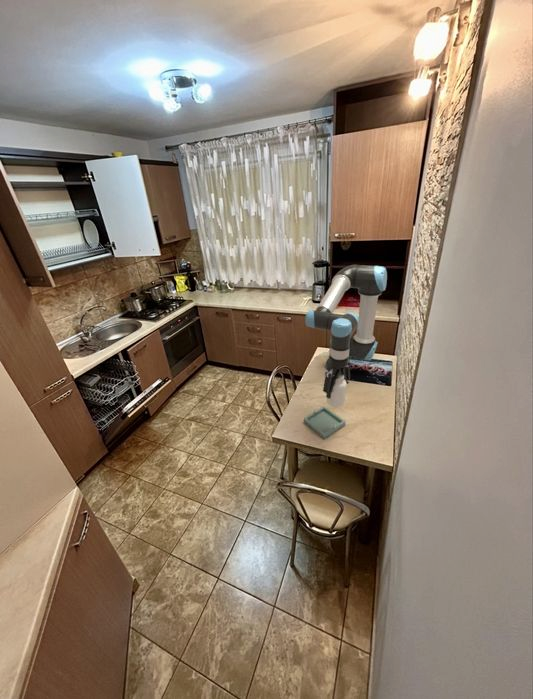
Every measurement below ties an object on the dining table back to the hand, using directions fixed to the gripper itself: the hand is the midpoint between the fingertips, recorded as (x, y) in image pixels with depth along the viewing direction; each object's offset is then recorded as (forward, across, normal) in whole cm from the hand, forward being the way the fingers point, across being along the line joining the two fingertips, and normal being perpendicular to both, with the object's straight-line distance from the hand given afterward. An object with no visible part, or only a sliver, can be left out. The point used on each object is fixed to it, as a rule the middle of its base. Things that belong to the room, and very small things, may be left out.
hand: (335, 398), depth 126 cm
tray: (+17, +3, -4) cm, 18 cm away
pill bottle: (+3, 0, 0) cm, 3 cm away
